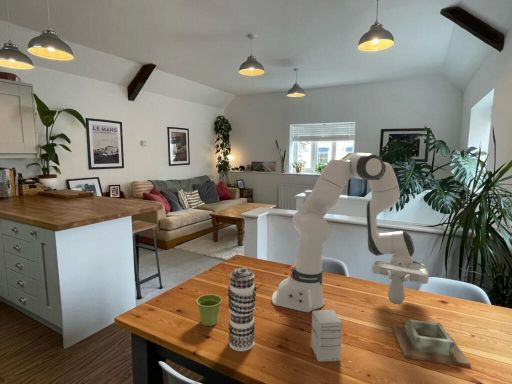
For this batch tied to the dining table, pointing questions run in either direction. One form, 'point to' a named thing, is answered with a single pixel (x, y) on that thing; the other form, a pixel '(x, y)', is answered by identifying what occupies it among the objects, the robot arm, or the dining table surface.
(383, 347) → the dining table surface
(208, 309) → the plant pot
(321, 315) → the supplement box
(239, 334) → the decorative candle
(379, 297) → the dining table surface
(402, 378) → the dining table surface
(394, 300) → the salt shaker
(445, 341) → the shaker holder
